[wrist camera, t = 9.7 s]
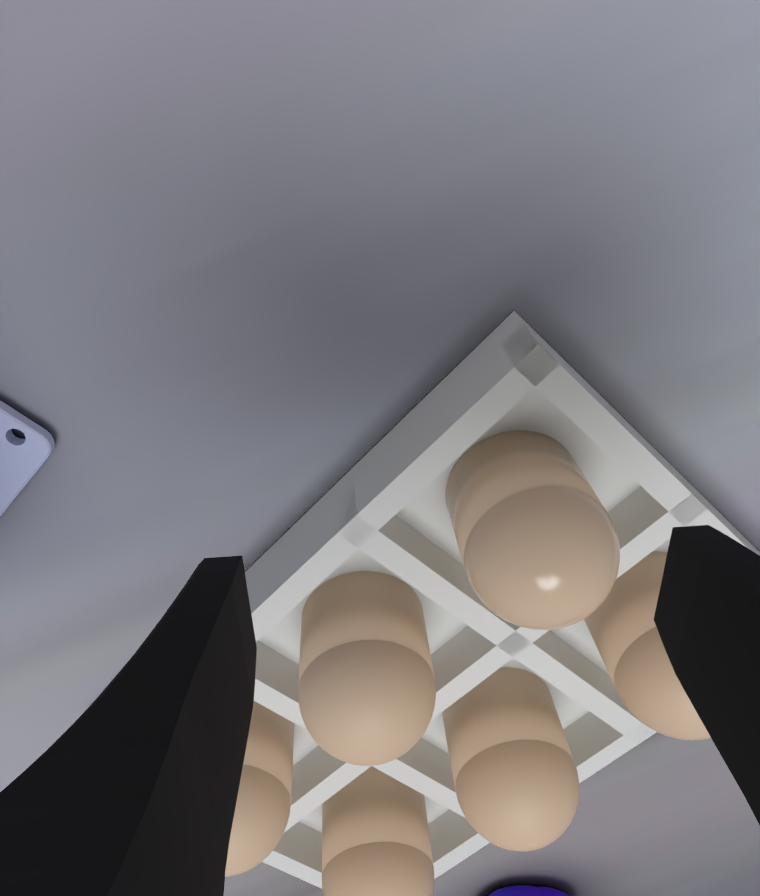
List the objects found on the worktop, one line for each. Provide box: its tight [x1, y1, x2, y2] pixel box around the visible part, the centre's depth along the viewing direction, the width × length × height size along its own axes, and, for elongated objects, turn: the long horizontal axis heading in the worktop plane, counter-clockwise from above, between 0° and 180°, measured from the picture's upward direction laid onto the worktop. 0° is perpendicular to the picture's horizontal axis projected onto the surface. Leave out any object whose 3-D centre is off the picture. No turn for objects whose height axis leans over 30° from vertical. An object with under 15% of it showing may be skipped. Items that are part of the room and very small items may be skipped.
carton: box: [225, 311, 760, 896], centre depth 23 cm, size 14×21×6 cm
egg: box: [445, 430, 620, 630], centre depth 19 cm, size 4×4×5 cm
